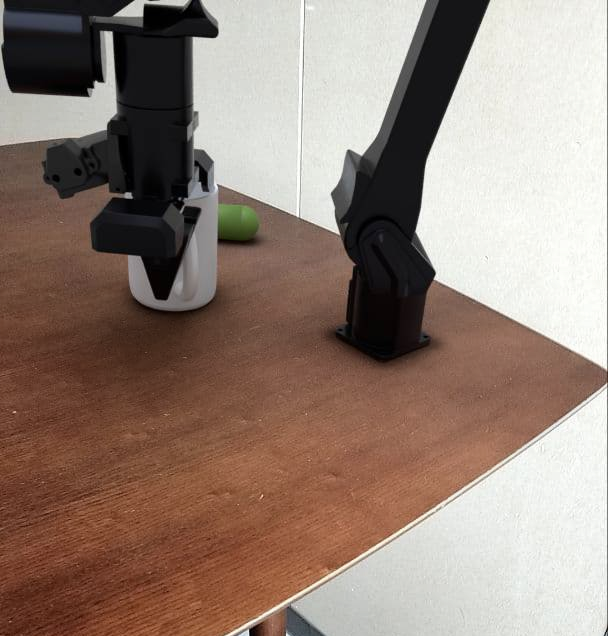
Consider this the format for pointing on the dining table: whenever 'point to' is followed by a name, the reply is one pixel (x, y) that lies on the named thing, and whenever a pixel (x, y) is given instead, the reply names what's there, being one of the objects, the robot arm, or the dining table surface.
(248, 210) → the pickle
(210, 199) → the mug
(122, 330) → the dining table surface
